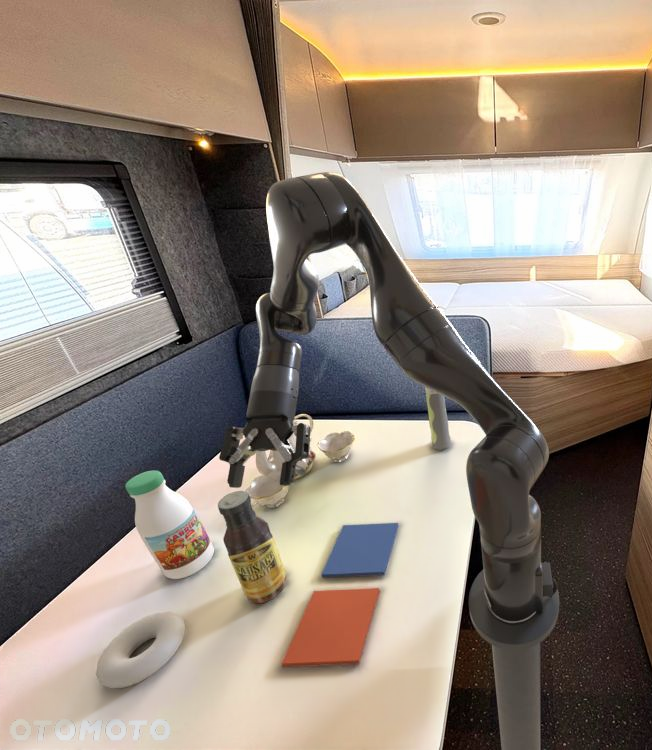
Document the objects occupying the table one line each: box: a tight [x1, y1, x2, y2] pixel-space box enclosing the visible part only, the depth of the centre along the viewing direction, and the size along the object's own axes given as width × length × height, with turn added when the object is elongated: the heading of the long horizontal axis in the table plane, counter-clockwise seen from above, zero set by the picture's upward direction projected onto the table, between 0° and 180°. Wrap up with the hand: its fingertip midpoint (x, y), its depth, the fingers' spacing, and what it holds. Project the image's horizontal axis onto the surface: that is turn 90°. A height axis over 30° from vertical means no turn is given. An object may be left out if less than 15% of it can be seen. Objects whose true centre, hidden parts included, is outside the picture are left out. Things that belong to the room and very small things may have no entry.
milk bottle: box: [125, 470, 215, 580], centre depth 67 cm, size 8×8×20 cm
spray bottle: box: [424, 387, 452, 451], centre depth 97 cm, size 5×5×20 cm
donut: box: [95, 611, 186, 689], centre depth 57 cm, size 10×4×10 cm
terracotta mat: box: [281, 587, 381, 668], centre depth 60 cm, size 11×11×1 cm
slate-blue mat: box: [320, 522, 399, 578], centre depth 72 cm, size 11×11×1 cm
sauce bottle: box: [217, 490, 287, 604], centre depth 62 cm, size 7×6×20 cm
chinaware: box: [245, 413, 356, 509], centre depth 90 cm, size 28×17×17 cm, turn 154°
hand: (260, 486), depth 65 cm, fingers open, 8 cm apart
